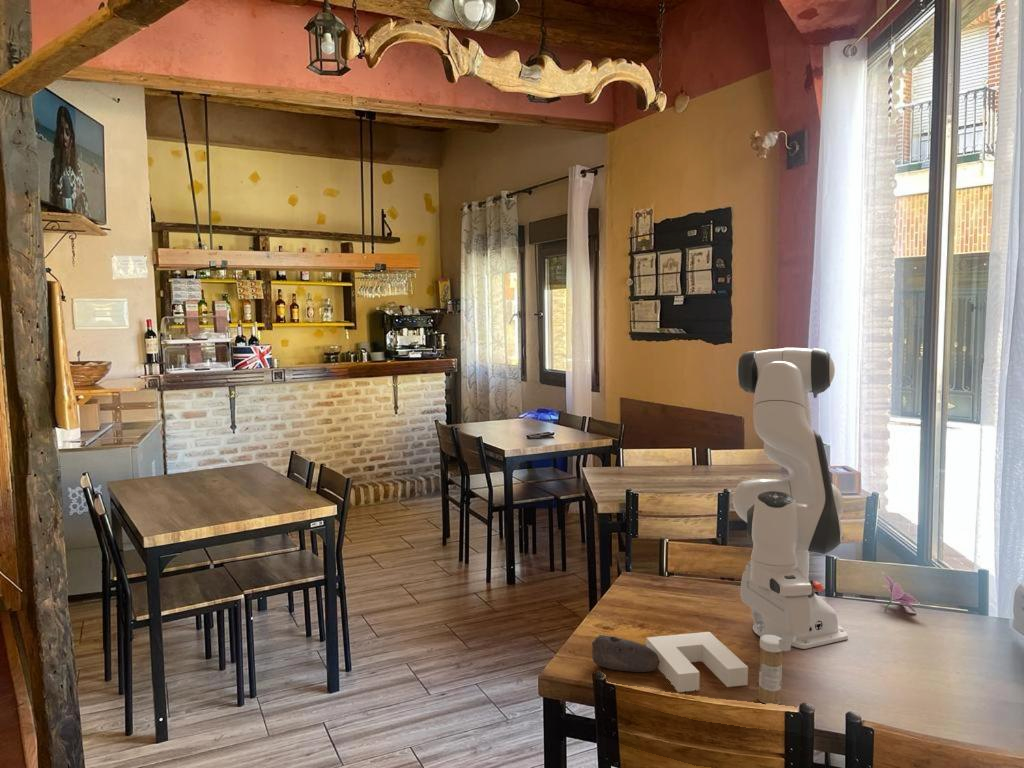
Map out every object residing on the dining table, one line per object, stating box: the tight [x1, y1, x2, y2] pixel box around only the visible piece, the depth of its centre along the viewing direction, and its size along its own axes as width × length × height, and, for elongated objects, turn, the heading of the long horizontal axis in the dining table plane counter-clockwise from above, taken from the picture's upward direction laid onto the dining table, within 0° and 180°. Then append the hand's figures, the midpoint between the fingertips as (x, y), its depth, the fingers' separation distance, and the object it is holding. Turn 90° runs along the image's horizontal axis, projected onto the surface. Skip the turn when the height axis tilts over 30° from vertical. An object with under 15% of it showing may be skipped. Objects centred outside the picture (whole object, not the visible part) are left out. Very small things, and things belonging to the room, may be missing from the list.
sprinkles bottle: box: [757, 635, 784, 705], centre depth 148 cm, size 5×5×13 cm
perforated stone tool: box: [591, 634, 660, 673], centre depth 162 cm, size 15×5×7 cm, turn 71°
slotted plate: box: [645, 631, 749, 693], centre depth 163 cm, size 16×18×4 cm
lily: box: [881, 571, 921, 613], centre depth 195 cm, size 12×12×10 cm
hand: (771, 639), depth 147 cm, fingers open, 8 cm apart
